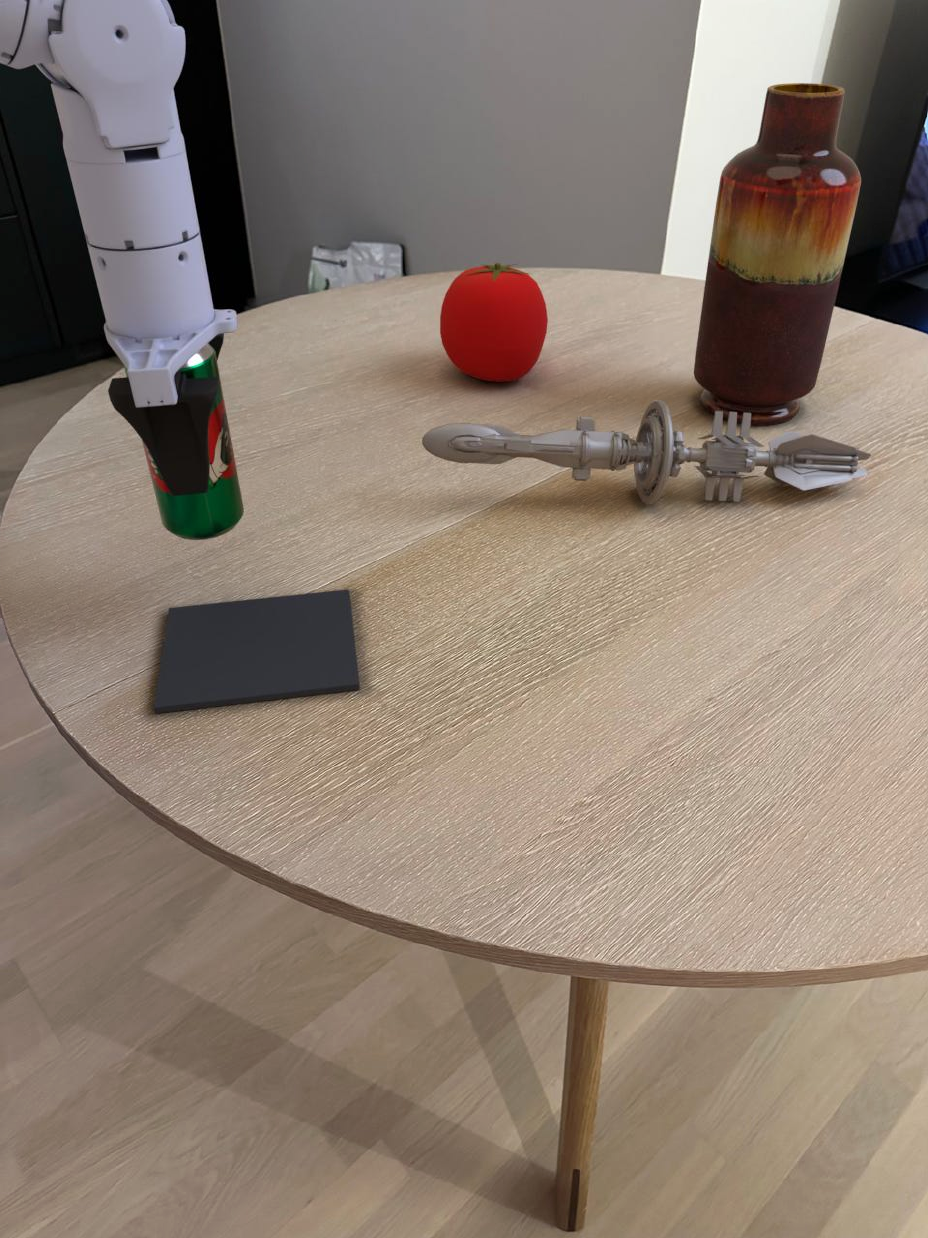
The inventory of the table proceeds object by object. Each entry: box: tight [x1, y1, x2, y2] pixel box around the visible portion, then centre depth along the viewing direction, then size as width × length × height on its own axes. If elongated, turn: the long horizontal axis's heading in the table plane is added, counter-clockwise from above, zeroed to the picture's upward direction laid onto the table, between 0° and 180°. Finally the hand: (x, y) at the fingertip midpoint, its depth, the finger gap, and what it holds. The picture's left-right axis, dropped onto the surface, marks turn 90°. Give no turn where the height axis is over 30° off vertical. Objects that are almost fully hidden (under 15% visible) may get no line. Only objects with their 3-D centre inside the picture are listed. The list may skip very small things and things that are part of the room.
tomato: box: [439, 262, 549, 383], centre depth 91 cm, size 10×11×11 cm
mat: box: [153, 588, 361, 714], centre depth 59 cm, size 12×10×1 cm
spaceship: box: [421, 399, 872, 506], centre depth 71 cm, size 8×35×8 cm
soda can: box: [122, 343, 245, 541], centre depth 55 cm, size 5×5×12 cm
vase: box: [693, 82, 862, 426], centre depth 79 cm, size 11×11×26 cm
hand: (193, 469), depth 56 cm, fingers closed on soda can, 5 cm apart
